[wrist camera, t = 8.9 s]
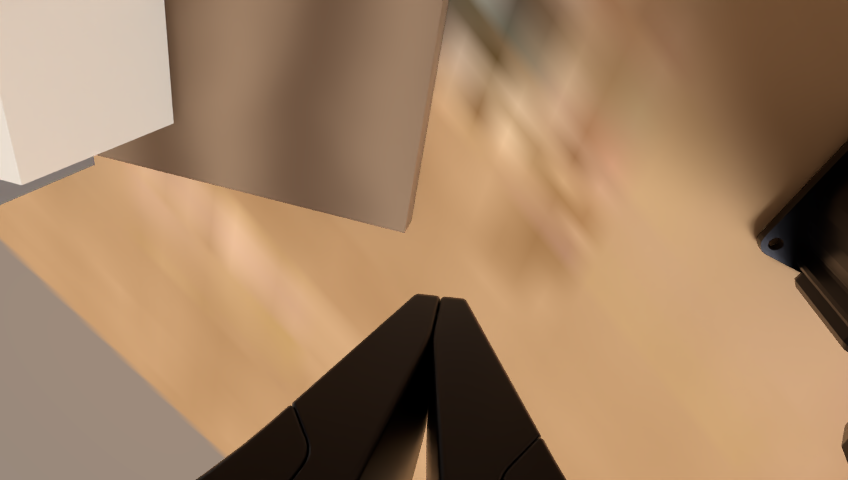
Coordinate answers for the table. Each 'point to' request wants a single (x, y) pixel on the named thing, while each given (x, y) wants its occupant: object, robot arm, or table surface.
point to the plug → (78, 80)
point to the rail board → (300, 101)
